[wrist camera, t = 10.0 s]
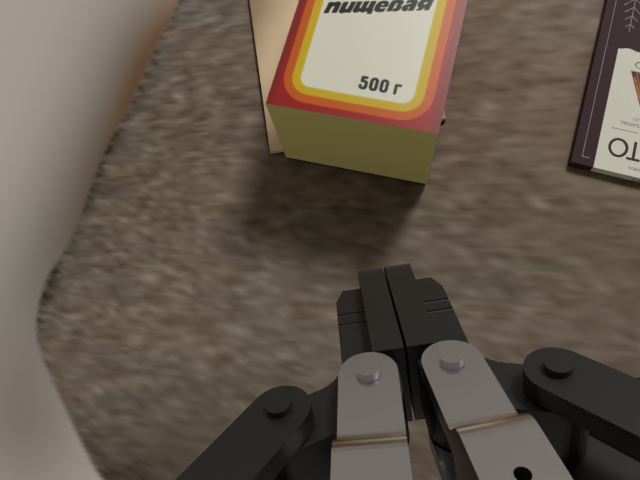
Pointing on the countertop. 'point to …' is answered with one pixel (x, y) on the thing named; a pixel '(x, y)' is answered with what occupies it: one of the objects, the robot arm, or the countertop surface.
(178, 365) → the countertop surface
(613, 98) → the chocolate bar
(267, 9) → the wooden board
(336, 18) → the baking soda box
